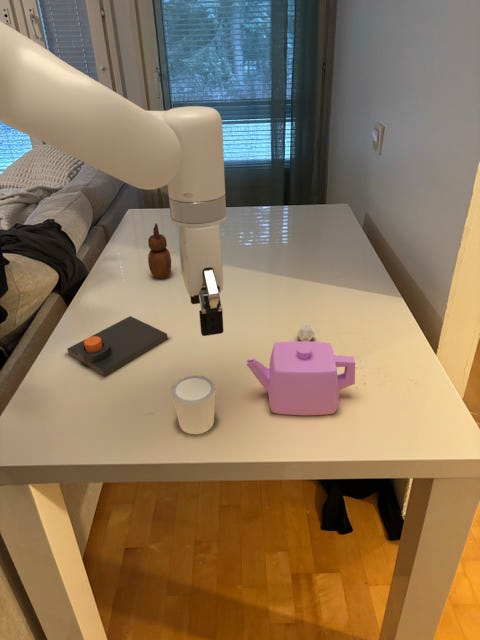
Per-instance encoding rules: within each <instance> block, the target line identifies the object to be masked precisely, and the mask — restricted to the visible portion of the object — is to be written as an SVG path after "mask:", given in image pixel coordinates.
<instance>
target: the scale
mask: <svg viewBox="0 0 480 640" xmlns="http://www.w3.org/2000/svg"><path fill="white" fill-rule="evenodd" d="M92 336H97V337H100V338H101V341H102V346H103V347H102V349H101V350H99V351H96V352H87V351H86V349H85V345H84V341H85V340H86V339H87V338H85V339H83V340H81V341H79V342H77V343H75V344H74V345H71V346H69V347H67V353H68V355H69V356H71V357H72V358H74V359H76V360H77V361H79V362H80V363H82V364H83V365H85V366H87V367H88V368H90V369H91V370H93V371H95V372H96V373H98V374H100V375H101V376H103V377H107V376H108V375H110V374H112V373H114V372H115V371H117V370H119V369H120V368H122V367H124V366H126V365H127V364H129V363H130V362H132V361H134V360H135V359H138V358H139V357H140V356H141V355H144V354H145V353H147V352H148V351H150V350H152V349H153V348H155V347H157V346H159V345H161V344H162V343H164V342H165V341H167V340H168V339H169V338H168V337H169V336H168V333H167V332H165V331H163V330H160V329H159V328H157V327H155V326H152V325H150V324H148V323H145V322H144V321H142V320H140V319H137V318H135V317H133V316H131V315H129V316H128V317H125V318H124V319H122V320H120V321H118V322H116V323H114V324H112V325H110V326H108V327H106V328H105V329H102V330H100V331H98V332H97V333H94V334H93V335H90V337H92Z"/></svg>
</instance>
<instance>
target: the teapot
mask: <svg viewBox="0 0 480 640" xmlns="http://www.w3.org/2000/svg"><path fill="white" fill-rule="evenodd" d="M246 366H247V368H248V369H249V370H250V371H251V373H252V374H253V375H254V377H255V378H256V379H257V381H258V382H259V384H260V385H261V386H262V387H263V389H265V391H266V392H267V394H268V401H269V402H268V404H269V407H270V411H271V412H272V413H274V414H279V415H288V416H289V415H290V416H325V415H333V414H335V413H336V411H337V410H338V407H339V401H340V390H343V389H345V388H348V387H350V386H353V385H355V384H356V360H355V357H354V355H335V353H334V349H333V346H332V344H331V343H330V342H324V341H309V342H308V341H301V340H299V341H295V340H293V341H277V342H274V344H273V346H272V350H271V354H270V359H269V366H268V367H266V366H265V365H264V364H262V363H261V362H259V361H258V360H257V359H256V358H250V359H246ZM338 368H344V371H343V372H342V373H340V374H338Z"/></svg>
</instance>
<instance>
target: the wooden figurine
mask: <svg viewBox="0 0 480 640" xmlns="http://www.w3.org/2000/svg"><path fill="white" fill-rule="evenodd" d="M152 229H153V231H152V232H153V234H152V235H150V236H149V237H148V241H147V243H148V248H149V249H150V250H149V252H148V255H147V256H148V257H147V262H148V268H149V271H150V273H151V275H152V277H153V278H155V279H159V280H160V279H161V280H163V279H166V278H168V277H169V276H170V275H171V272H172V256H171V253H170V251H169V249H168V248H167V246H168V244H167V239H166V236H165V235H164V234H160V231H159V225H158V223H154V226H153V228H152Z"/></svg>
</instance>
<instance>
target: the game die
mask: <svg viewBox="0 0 480 640" xmlns="http://www.w3.org/2000/svg"><path fill="white" fill-rule="evenodd" d="M296 333H297V337H298V338H299V341H308V342H311V340H312V339H313V338H314V336H315V332H314V330H313V328H312V326H311V325H310V324H302V325H301V327H300V328H299V330H298V331H297V332H296Z"/></svg>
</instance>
